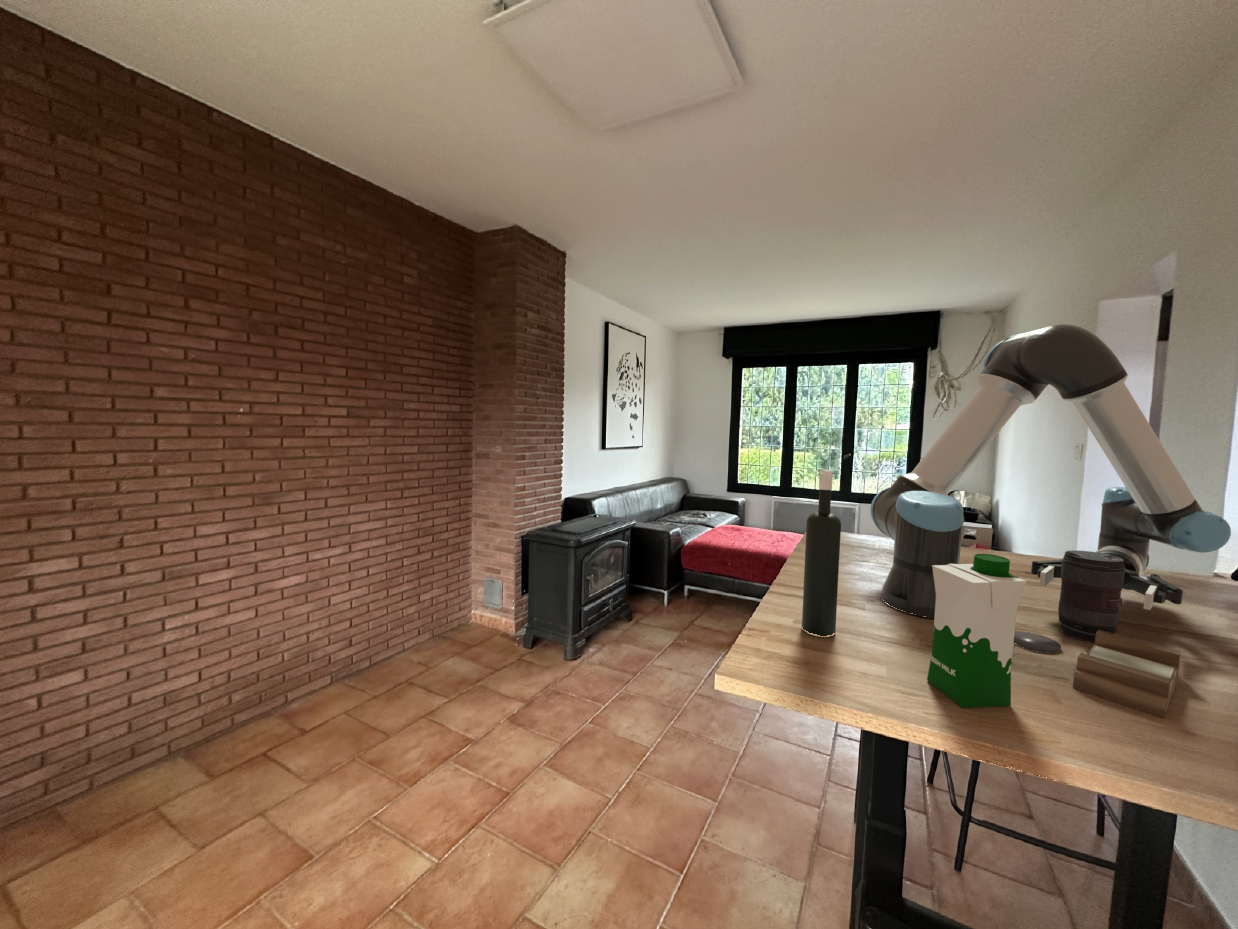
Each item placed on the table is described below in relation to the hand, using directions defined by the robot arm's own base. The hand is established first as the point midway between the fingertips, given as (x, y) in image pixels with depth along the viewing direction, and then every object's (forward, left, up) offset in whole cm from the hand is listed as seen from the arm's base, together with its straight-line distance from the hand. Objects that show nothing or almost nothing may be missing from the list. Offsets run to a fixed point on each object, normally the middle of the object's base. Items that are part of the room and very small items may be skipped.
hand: (1091, 589), depth 86 cm
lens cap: (-10, -7, -9) cm, 15 cm away
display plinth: (-2, -17, -9) cm, 19 cm away
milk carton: (-25, -30, -9) cm, 40 cm away
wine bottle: (-45, -17, -9) cm, 49 cm away
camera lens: (0, +1, -9) cm, 9 cm away
